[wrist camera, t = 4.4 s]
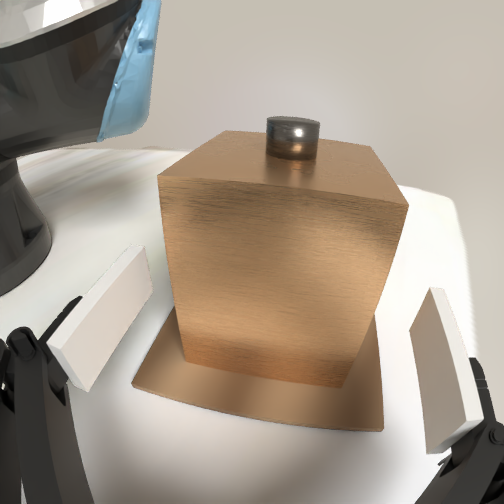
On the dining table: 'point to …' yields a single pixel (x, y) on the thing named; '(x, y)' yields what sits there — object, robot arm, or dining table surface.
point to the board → (266, 387)
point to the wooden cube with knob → (279, 250)
